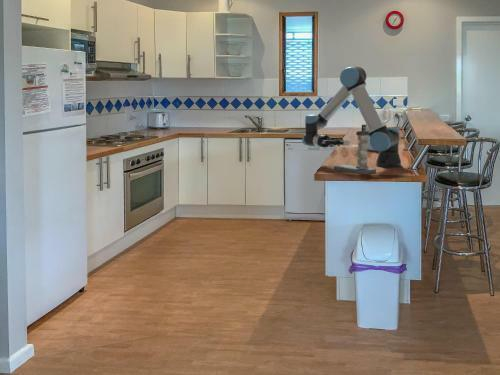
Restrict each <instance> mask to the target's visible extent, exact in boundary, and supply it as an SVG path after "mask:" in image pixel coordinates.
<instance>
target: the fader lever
mask: <svg viewBox="0 0 500 375" xmlns="http://www.w3.org/2000/svg"><path fill="white" fill-rule="evenodd" d="M355 134H356V136H357V147H356V148H357V154H356V157H357V162H356V165H355V166H356V168H358V169H367V168H369V166H368V150H367V145H368V135H369V132H368V131H362V130H358V131H356V133H355Z"/></svg>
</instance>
